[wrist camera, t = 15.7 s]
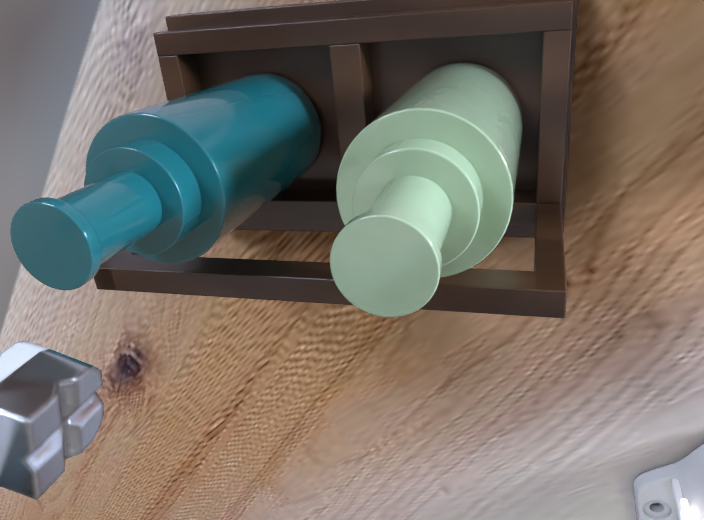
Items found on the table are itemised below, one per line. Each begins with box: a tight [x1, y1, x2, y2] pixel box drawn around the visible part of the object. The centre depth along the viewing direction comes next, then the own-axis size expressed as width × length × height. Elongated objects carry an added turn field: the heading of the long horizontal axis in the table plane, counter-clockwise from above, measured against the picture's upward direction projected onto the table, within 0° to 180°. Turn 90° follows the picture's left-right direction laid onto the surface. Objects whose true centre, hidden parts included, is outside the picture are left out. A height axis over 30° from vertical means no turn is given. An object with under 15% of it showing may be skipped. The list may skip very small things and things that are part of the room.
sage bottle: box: [330, 62, 523, 317], centre depth 24 cm, size 6×6×18 cm
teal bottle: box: [10, 73, 321, 290], centre depth 27 cm, size 6×6×18 cm
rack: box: [94, 0, 578, 318], centre depth 30 cm, size 13×22×13 cm, turn 95°
